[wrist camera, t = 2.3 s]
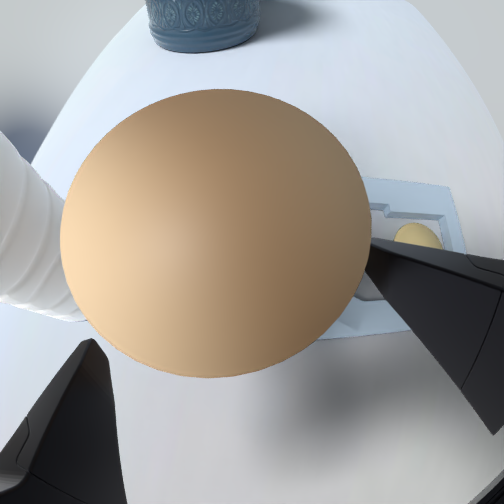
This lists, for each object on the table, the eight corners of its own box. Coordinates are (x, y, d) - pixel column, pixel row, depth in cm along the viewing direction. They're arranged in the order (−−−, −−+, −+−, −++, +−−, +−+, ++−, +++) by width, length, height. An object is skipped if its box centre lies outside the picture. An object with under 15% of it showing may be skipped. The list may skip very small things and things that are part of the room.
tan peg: (234, 370, 17) (211, 451, 3) (179, 317, 18) (22, 213, 4) (286, 315, 18) (419, 203, 4) (231, 264, 19) (216, 61, 5)
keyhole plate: (293, 340, 17) (296, 340, 16) (284, 180, 21) (286, 172, 20) (468, 320, 18) (476, 318, 17) (443, 192, 21) (449, 187, 20)
